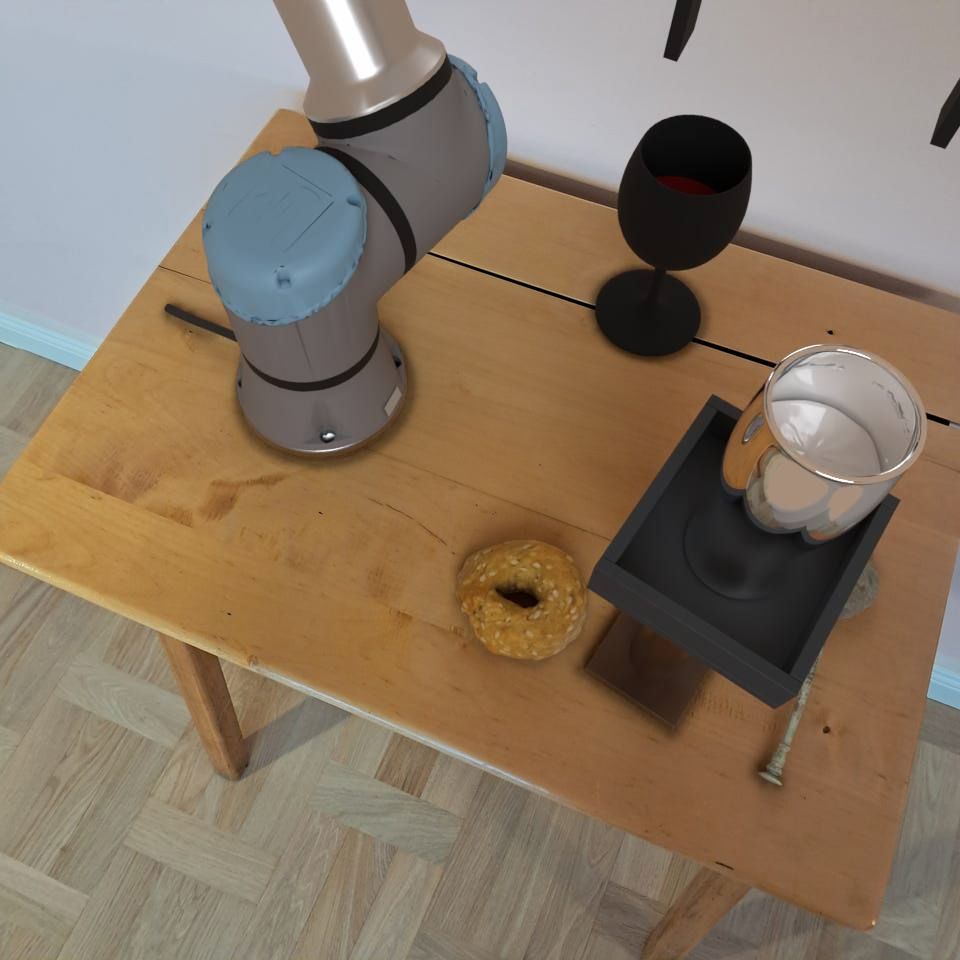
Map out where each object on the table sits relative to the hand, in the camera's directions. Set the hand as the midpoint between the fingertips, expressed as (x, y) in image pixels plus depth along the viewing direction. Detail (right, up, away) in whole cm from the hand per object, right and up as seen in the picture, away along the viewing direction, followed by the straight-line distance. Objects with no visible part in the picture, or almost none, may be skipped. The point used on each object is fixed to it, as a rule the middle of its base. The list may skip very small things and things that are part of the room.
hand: (807, 85), depth 43 cm
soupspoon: (+10, -34, +27) cm, 44 cm away
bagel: (-13, -30, +28) cm, 43 cm away
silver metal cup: (-2, -24, +5) cm, 24 cm away
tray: (-2, -24, +6) cm, 25 cm away
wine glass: (0, -4, +42) cm, 42 cm away
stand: (-3, -34, +26) cm, 43 cm away
